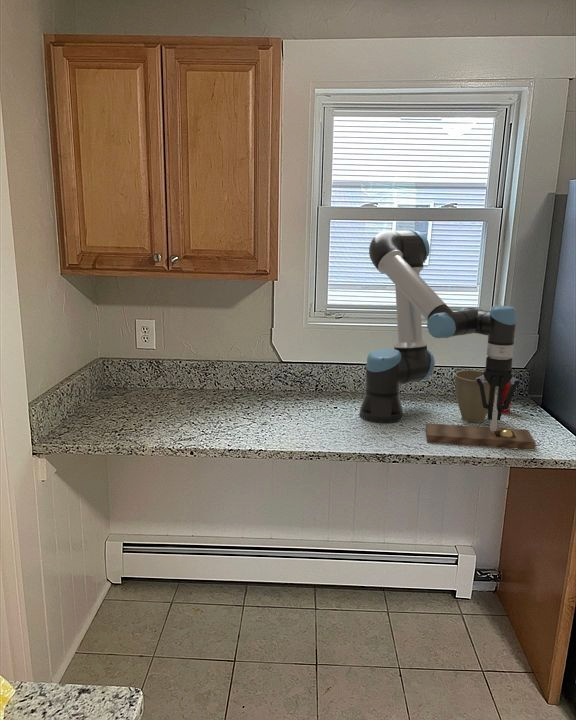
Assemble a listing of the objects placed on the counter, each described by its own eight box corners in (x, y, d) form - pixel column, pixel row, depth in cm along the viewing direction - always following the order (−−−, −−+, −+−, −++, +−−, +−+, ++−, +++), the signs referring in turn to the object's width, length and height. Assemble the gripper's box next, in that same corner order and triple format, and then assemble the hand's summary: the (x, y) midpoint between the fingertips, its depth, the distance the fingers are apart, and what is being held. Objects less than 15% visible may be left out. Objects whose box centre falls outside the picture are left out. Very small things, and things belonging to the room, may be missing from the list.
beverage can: (507, 409, 214) (511, 370, 210) (512, 415, 207) (516, 374, 204) (491, 408, 214) (494, 369, 211) (495, 414, 208) (499, 374, 204)
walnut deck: (426, 442, 182) (427, 435, 181) (425, 430, 192) (426, 423, 192) (534, 450, 176) (535, 442, 176) (527, 437, 187) (527, 429, 186)
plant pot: (484, 429, 193) (488, 384, 189) (443, 419, 203) (447, 375, 199) (502, 418, 204) (507, 375, 200) (463, 409, 213) (466, 367, 210)
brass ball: (497, 437, 181) (509, 430, 179) (496, 431, 184) (507, 425, 183) (505, 446, 181) (516, 440, 180) (503, 441, 185) (514, 434, 184)
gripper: (478, 358, 174) (472, 432, 180) (524, 360, 172) (516, 435, 178) (475, 353, 182) (470, 424, 187) (519, 355, 179) (512, 426, 185)
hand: (492, 429), depth 182 cm, fingers closed
